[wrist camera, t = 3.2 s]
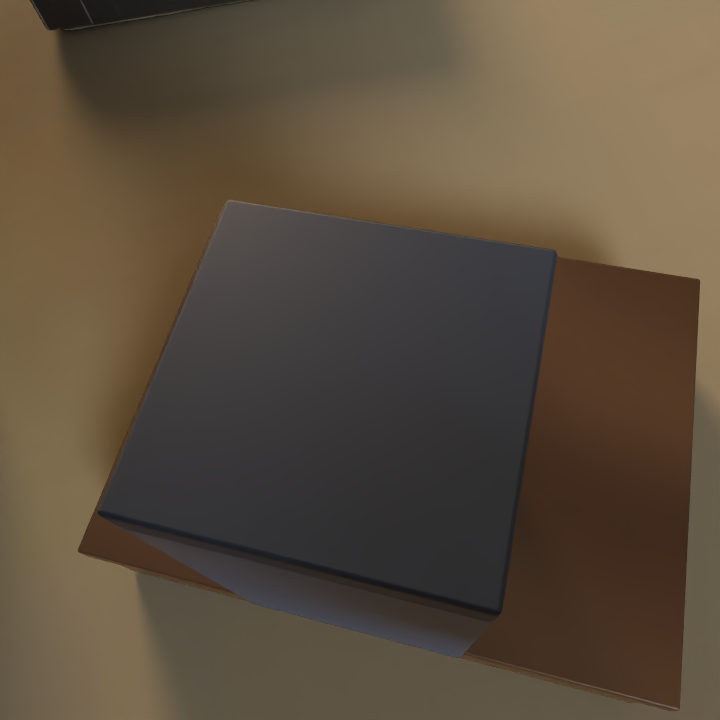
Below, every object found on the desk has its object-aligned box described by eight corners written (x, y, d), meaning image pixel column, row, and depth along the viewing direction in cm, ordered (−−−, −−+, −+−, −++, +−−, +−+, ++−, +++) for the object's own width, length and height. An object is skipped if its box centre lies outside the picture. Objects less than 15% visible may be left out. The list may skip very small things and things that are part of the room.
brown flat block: (637, 709, 16) (680, 712, 13) (126, 573, 18) (75, 551, 16) (663, 334, 20) (701, 278, 18) (245, 262, 23) (222, 203, 20)
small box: (460, 659, 14) (501, 616, 7) (250, 602, 15) (93, 514, 8) (497, 450, 16) (559, 248, 9) (309, 410, 17) (226, 197, 10)
